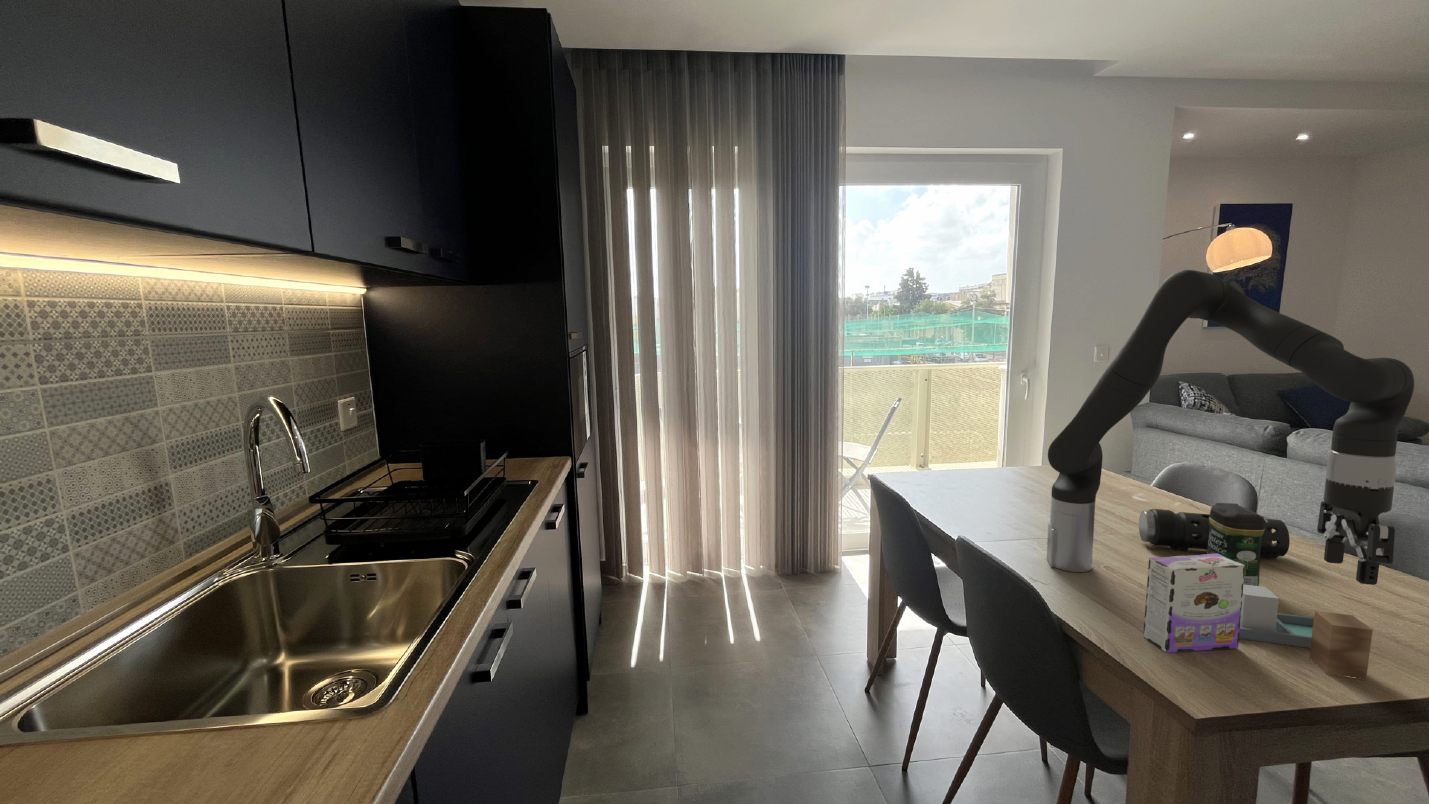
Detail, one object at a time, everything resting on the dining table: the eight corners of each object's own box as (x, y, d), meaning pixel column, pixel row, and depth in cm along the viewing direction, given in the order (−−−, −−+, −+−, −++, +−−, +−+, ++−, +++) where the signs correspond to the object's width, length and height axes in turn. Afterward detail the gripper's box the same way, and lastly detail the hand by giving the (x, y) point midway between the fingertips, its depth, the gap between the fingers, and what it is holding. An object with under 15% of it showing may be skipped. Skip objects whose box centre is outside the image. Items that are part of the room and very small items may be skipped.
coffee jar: (1197, 575, 135) (1203, 499, 132) (1237, 577, 133) (1244, 500, 130) (1222, 594, 125) (1229, 513, 123) (1265, 597, 124) (1274, 514, 121)
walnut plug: (1326, 674, 97) (1332, 624, 96) (1309, 658, 102) (1314, 610, 101) (1365, 680, 95) (1372, 630, 94) (1346, 663, 100) (1352, 615, 99)
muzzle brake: (1288, 567, 138) (1292, 526, 136) (1146, 552, 148) (1149, 514, 147) (1268, 552, 146) (1272, 513, 145) (1136, 539, 157) (1139, 503, 156)
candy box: (1210, 632, 111) (1218, 552, 109) (1239, 649, 105) (1247, 565, 103) (1141, 636, 110) (1147, 555, 108) (1166, 653, 105) (1173, 568, 102)
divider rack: (1232, 637, 109) (1236, 598, 108) (1211, 614, 117) (1215, 577, 116) (1358, 654, 102) (1363, 612, 101) (1326, 628, 111) (1331, 589, 110)
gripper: (1304, 467, 102) (1296, 554, 104) (1357, 489, 89) (1346, 588, 91) (1360, 470, 99) (1351, 558, 101) (1424, 493, 86) (1411, 594, 88)
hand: (1349, 572), depth 96 cm, fingers open, 8 cm apart
